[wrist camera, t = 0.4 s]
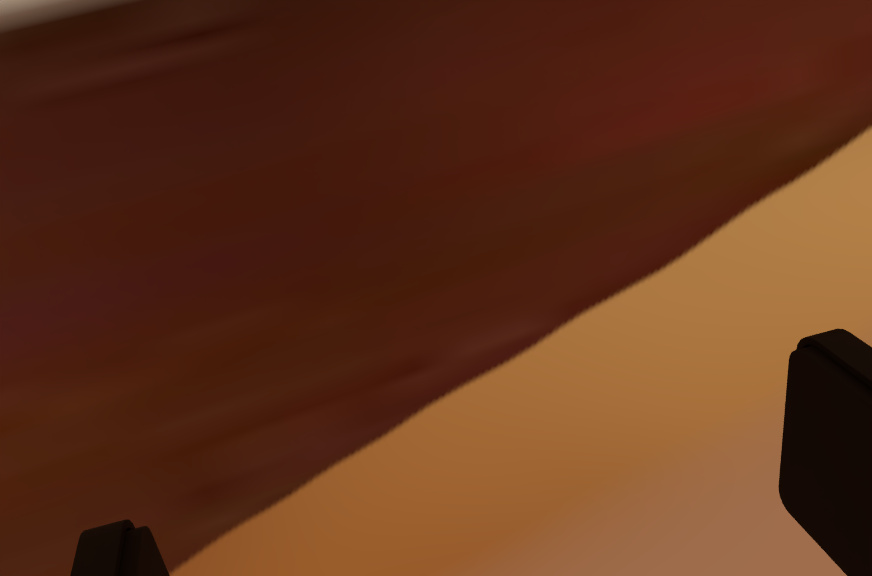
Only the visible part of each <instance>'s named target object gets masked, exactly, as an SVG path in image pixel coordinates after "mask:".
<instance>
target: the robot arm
mask: <svg viewBox="0 0 872 576" xmlns="http://www.w3.org/2000/svg"><path fill="white" fill-rule="evenodd" d="M784 416H785V417H784V428H783V440H782V452H781V464H780V478H779V493H780V497H781V500H782V503H783V504H784V506H785V508H786V510H787V511H788V512H789V513H790V514H791V516H792V517H793V518H795V520H796V521H797V522H798V523H799V524H800V525H801V526H802V527H803V528H804V529H805V531H806V532H807V533H808V534H809V535H810V536H811V537H812V538H813V539H814V540H815V541H816V543H818V545H819V546H820V547H821V548H822V549H823V550H824V551H825V552H826V553H827V554H828V555H829V557H830V558H831V559H832V560H833V561H834V562H835V563H836V564H837V565H838V566H839V567H840V568H841V569H842V571H843V572H844V573H845V574H846V575H847V576H872V347H870V346H869V345H867V344H866V343H864V342H863V341H862V340H860V339H859V338H857V337H856V336H854V335H853V334H851V333H850V332H848V331H846V330H844V329H835V330H831V331H827V332H823V333H820V334H816V335H812V336H809V337H805V338H803V339H801V340H800V342H799V343H798V345H797V349H796V350H795V351H793V352H792V353H791V355H790V358H789V366H788V379H787V390H786V403H785V415H784ZM71 576H169V573H168V571H167V568H166V566H165V564H164V561H163V559H162V557H161V554H160V552H159V549H158V547H157V545H156V542H155V540H154V538H153V535H152V533H151V531H150V529H149V528H148V527H147V526H143V527H140V528H136V529H135V527H134V525H133V523H132V522H131V521H130V520H122V521H119V522H115V523H111V524H107V525H104V526H100V527H96V528H93V529H89V530H85V531H83V532H82V533H81V535H80V538H79V541H78V546H77V550H76V554H75V559H74V563H73V567H72V572H71Z"/></svg>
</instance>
